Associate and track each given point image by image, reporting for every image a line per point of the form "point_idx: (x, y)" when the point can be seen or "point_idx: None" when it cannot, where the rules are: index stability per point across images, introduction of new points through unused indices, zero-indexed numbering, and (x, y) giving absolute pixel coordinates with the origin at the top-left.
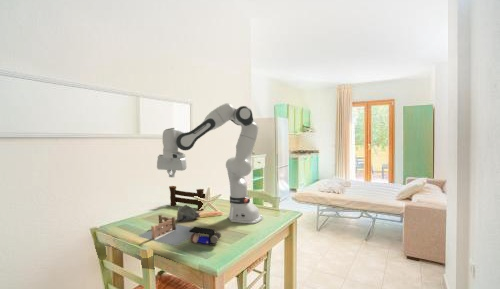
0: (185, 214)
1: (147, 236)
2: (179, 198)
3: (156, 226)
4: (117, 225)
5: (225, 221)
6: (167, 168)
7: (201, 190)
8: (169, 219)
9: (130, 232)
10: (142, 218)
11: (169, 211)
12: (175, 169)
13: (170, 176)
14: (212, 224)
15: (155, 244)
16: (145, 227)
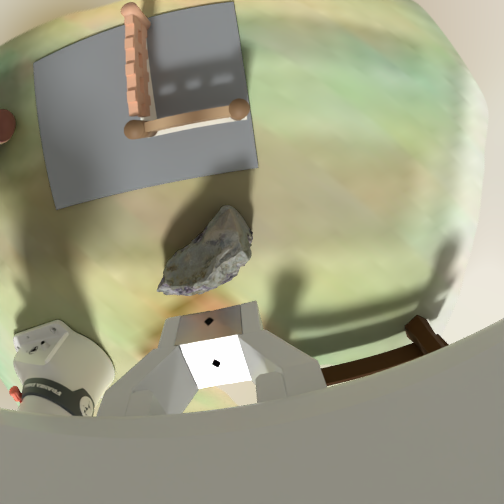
0: (198, 245)
1: (189, 20)
2: (404, 359)
3: (125, 24)
4: (426, 50)
5: (76, 315)
6: (271, 433)
7: None
8: (160, 118)
9: (308, 14)
10: (416, 150)
11: (380, 274)
12: (4, 417)
13: (216, 314)
14: (82, 270)
15: (104, 17)
16: (305, 77)
